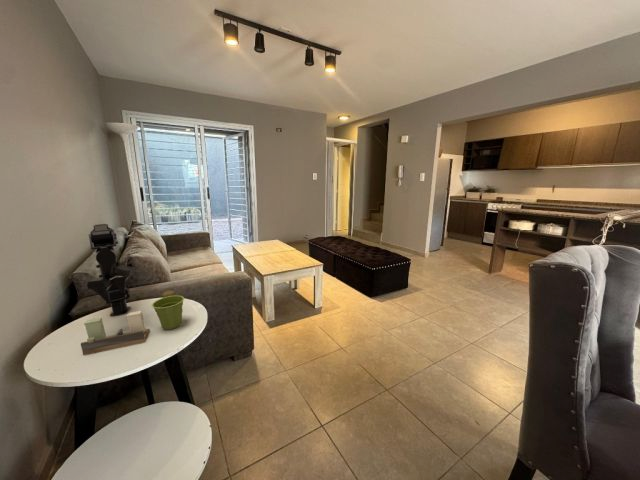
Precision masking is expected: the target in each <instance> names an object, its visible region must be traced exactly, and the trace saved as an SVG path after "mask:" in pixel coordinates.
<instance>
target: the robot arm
mask: <svg viewBox="0 0 640 480" xmlns="http://www.w3.org/2000/svg"><path fill="white" fill-rule="evenodd" d="M88 238H89V239H88V240H89V244H90V250H92V251H93V250H95V254H96V256H95V261H96V262H97V263H98V264H96V265H95V266H96V268H97V269H98V268H99V271H100V274H98V278H93V279H90V280H88V281H87V282H86V283H85V286H86V289H87V290H91V291H94V292H95V293H96V294H97V295H98V296H99V297H100V298H102V300H103V301H105V304H106V305H110V306H111V307H110V308H111V310H112V312H111V313H110V314H109V316H110V317H113V316H118V315H125V314H127V313H129V310H130V309H131V306H128V305H127V300H129V298H131V295H130V294H131V293H130V289H129V288H128V287H127V281H128V279H129V278H130V277H131V276H134V274H135V271H137V267H136V264H135V262H129V263H128V264H122V263H121V261H120V260H118V259H117V254H116V250H115V247H118V245H117V244H119V242H118V238H117V234H116V233H115V231H114V229H113V228H111V227H109V224H106V223H102V224H99V223H98V224H94V225H93V229H92V230H91V231H90V233H89V234H88Z"/></svg>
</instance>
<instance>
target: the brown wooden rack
mask: <svg viewBox="0 0 640 480" xmlns="http://www.w3.org/2000/svg"><path fill="white" fill-rule="evenodd" d="M150 332H151V329H150V327H148V328H147V327H146V328H145V332H144V331H138V332H133V333H131V332H130V331H128V332H124V331H123V328H119V330H118V331H117V333H115V334H113V335H106V338H103V339H98V340H95V338H94V337H91V338H87V339H86V341H83V342H81V343H80V347H81V352H82V355H83V356H86V355H92V354H95V353H101V352H105V351H110V350H113V349H114V350H115V349H121V348H123V347H129V346H133V345H139V344H143V343H146V340H147V338H148V337H149V334H150Z"/></svg>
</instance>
